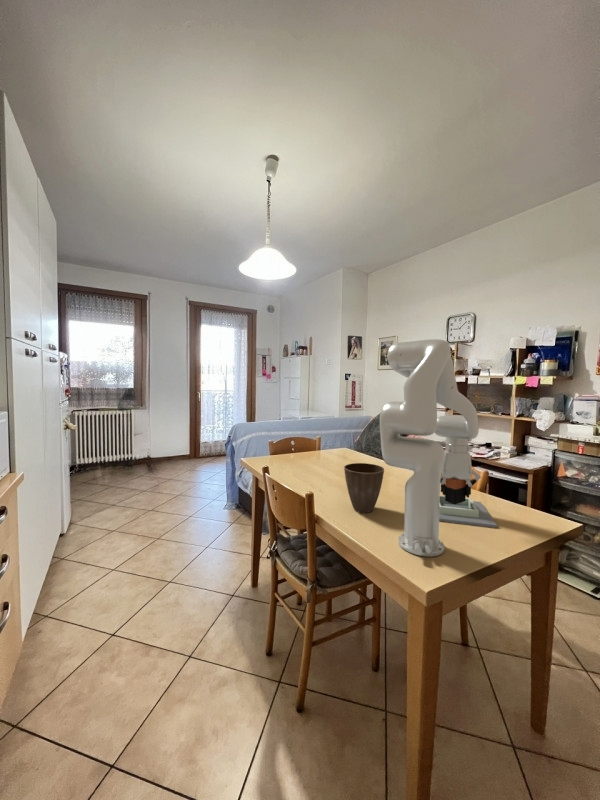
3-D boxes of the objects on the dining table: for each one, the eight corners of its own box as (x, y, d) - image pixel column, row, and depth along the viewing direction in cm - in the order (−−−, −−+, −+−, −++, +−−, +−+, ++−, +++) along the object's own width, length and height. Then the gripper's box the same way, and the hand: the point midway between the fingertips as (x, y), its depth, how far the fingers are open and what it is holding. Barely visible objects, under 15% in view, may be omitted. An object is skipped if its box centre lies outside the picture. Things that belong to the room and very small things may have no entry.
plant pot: (347, 499, 130) (348, 461, 129) (385, 504, 125) (385, 464, 124) (340, 513, 116) (340, 470, 115) (381, 519, 111) (382, 474, 110)
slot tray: (497, 528, 104) (497, 517, 104) (425, 519, 111) (426, 509, 111) (480, 504, 125) (480, 495, 125) (421, 498, 132) (421, 490, 132)
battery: (444, 501, 118) (444, 474, 118) (455, 497, 122) (455, 472, 121) (455, 504, 115) (455, 477, 114) (466, 501, 118) (466, 475, 117)
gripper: (480, 447, 118) (478, 494, 119) (430, 445, 123) (429, 489, 124) (485, 452, 111) (484, 501, 112) (432, 449, 116) (431, 496, 117)
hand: (455, 494), depth 118 cm, fingers closed on battery, 7 cm apart
